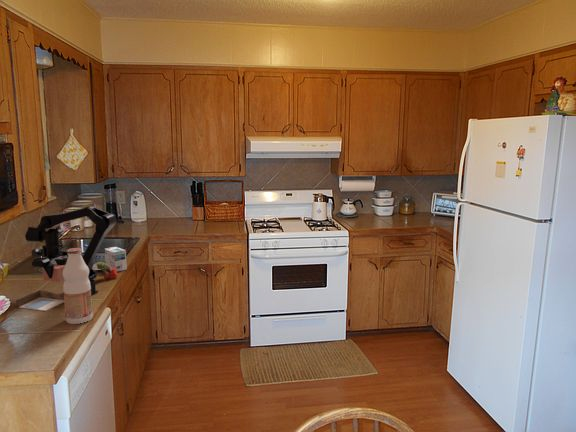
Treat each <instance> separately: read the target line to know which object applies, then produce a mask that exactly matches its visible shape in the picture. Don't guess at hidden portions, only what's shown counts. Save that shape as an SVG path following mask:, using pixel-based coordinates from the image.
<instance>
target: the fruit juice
mask: <svg viewBox="0 0 576 432" xmlns="http://www.w3.org/2000/svg"><path fill="white" fill-rule="evenodd" d="M66 250H67V254H68V256H67V258H68V259H67V262H66V264H65V267H64V269H63V278H64V280H63V281H64V282H63V285H62V286H63V287H62V290H63V292H62V293H64V302H63V303H64V313H65V320H66V323H67V324H70V325H80V323H81V324H84V322H85V323H87V321H88V322H90V321H91V320H92V319H93V314H94V313H93V301H92V295H91V285H90V281H89V279H88V276H89V268H88V266H87V265H86V264H85V262H84V260H83V258H82V257H83V256H82V253H83V252H82V248H80V247H72V248H71V247H70V248H69V249H66Z"/></svg>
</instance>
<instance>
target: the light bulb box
mask: <svg viewBox="0 0 576 432" xmlns="http://www.w3.org/2000/svg"><path fill="white" fill-rule="evenodd" d="M104 254H105V255H104V258H105V264H108V265H109V266H111V267H113V268H117V269H116V273H117V272H120V271H126V270H128V268H127V266H128V265H127V250H126V249H123V248H121V247H118V246H112V247H111V246H110V247H107V248H104ZM114 265H116V266H114Z"/></svg>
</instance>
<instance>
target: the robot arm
mask: <svg viewBox="0 0 576 432" xmlns="http://www.w3.org/2000/svg"><path fill="white" fill-rule="evenodd" d="M84 217H87V218H88V219H89V220H90V221H91V222H92V223H94V224H95V226H94V229H95V230H94V233H93V235H92V238H91V240H90V241H89V244H88V245H87V247H86V249H85V251H84V253H83V256H82V258H83V260H84V262H85V264H86V265H87V266H88V268H89V276H88V279H89V281H90V285H91V296H93V295H95V294H97V293H99V290H96V280H95V279H96V278H97V276H98V272H97V271H95V270H94V269H93V266H94V259H95V257H96V255H97V253H98V251H99V250H100V248H101V245H102V243H103V242H104V239H106V238H105V237H106V236H107V234H108V233H109V232H110V231H111V230H112V229H113V228H114V227H115V225H116V223H117V218H116V216H115V214H113V213H110V212H108V211H105V210H102V209H100V208H97V207H95V206H93V205H88V206H85V207H83V208H78V209H75V210H70V211H67V212H53V213H50V214H46V215H43V216H42V217H41V218H40V221H39V224H38V226H34V225H33V226H32V225H30V226H28V227H27V230H26V232H25V240H26V241H27V242H29V243H30V242H31V243H43V242H44V245H42V248H40V249H38V248H33V249H31V256H32V257H34V258H33V260H32V261H31V267H36V268H42V267H43V268H44V270H45V271H46V273H47V275H48V277H49V278H52V276H53V269H54V264H55V263H56V264H57V265H66V262H67V259H68V254H67V250H68V249H61V247H63V243H61V241H60V234H62V233H64V232H65V230H64V229H63V228H61V227H60V225H62V224H63V223H66V222H68V221H69V222H70V221H72V220H73V221H74V220H77V219H81V218H84ZM54 227H56V228H54ZM53 261H55V263H52V262H53Z"/></svg>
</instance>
